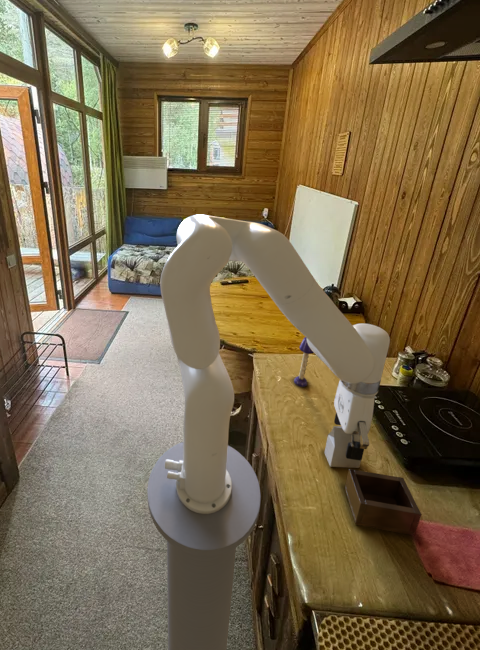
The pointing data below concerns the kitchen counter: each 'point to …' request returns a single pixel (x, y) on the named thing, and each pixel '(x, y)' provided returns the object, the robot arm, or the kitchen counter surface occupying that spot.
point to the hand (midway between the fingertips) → (346, 440)
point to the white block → (340, 448)
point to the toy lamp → (303, 364)
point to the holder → (382, 502)
